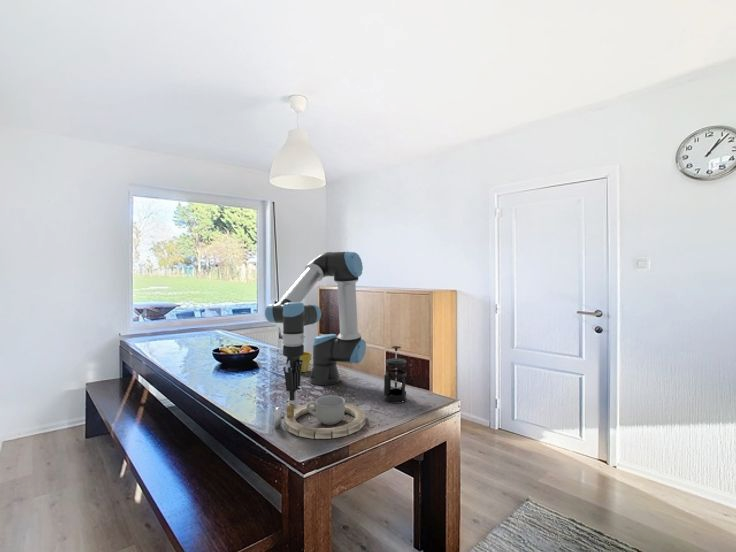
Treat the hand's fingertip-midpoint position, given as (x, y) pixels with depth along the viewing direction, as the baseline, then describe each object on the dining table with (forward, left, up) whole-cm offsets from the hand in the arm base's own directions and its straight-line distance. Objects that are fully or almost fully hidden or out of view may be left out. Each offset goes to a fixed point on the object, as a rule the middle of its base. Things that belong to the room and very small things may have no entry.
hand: (293, 408), depth 138 cm
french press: (-30, +34, -5) cm, 46 cm away
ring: (-1, +12, -5) cm, 13 cm away
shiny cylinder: (+7, -3, -5) cm, 9 cm away
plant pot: (-65, -22, -5) cm, 69 cm away
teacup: (-2, +12, -5) cm, 13 cm away
